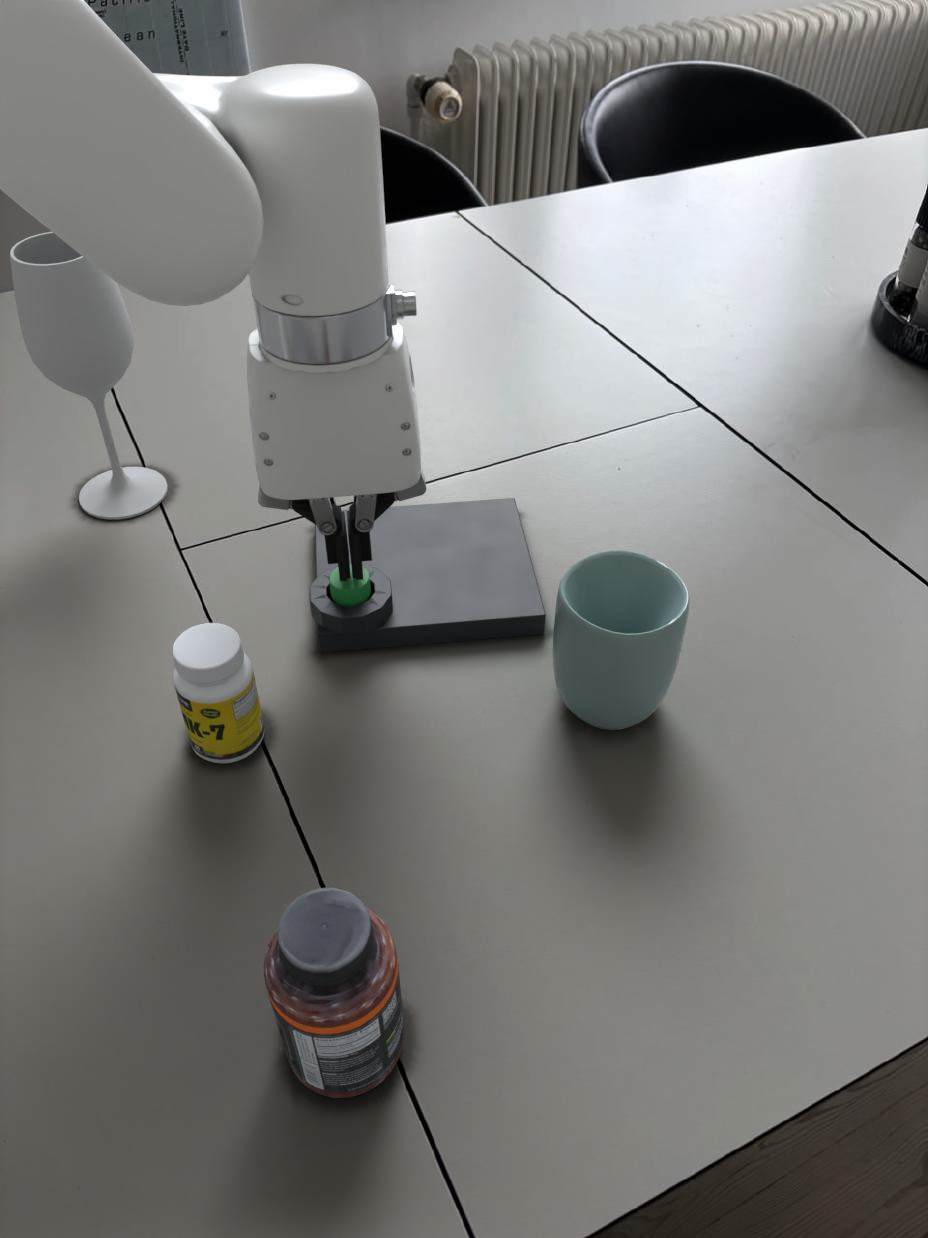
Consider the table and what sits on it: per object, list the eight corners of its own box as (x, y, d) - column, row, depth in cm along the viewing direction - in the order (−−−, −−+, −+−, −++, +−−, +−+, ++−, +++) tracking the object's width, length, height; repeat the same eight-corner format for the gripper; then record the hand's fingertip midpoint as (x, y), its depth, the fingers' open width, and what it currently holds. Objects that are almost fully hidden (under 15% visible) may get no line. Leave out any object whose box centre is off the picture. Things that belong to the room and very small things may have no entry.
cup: (525, 697, 67) (532, 585, 61) (606, 645, 71) (621, 533, 64) (609, 767, 63) (627, 655, 56) (690, 708, 67) (717, 596, 60)
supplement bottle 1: (175, 748, 64) (147, 655, 58) (221, 700, 67) (199, 607, 61) (235, 777, 63) (212, 684, 57) (280, 726, 66) (263, 633, 60)
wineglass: (61, 491, 84) (-22, 245, 70) (143, 457, 88) (80, 217, 74) (103, 533, 80) (24, 281, 66) (187, 495, 84) (130, 249, 70)
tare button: (331, 608, 69) (329, 591, 68) (330, 582, 71) (328, 565, 70) (371, 605, 70) (370, 588, 68) (369, 579, 72) (368, 562, 70)
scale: (315, 657, 70) (309, 620, 68) (312, 531, 81) (308, 495, 78) (545, 637, 72) (548, 601, 69) (513, 516, 82) (515, 480, 80)
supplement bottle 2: (289, 989, 52) (259, 868, 45) (403, 982, 53) (393, 860, 45) (282, 1108, 48) (247, 996, 40) (407, 1099, 48) (396, 986, 41)
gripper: (449, 280, 60) (453, 525, 72) (193, 295, 58) (242, 542, 71) (464, 341, 54) (465, 594, 67) (183, 359, 53) (238, 613, 66)
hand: (350, 566), depth 69 cm, fingers closed
